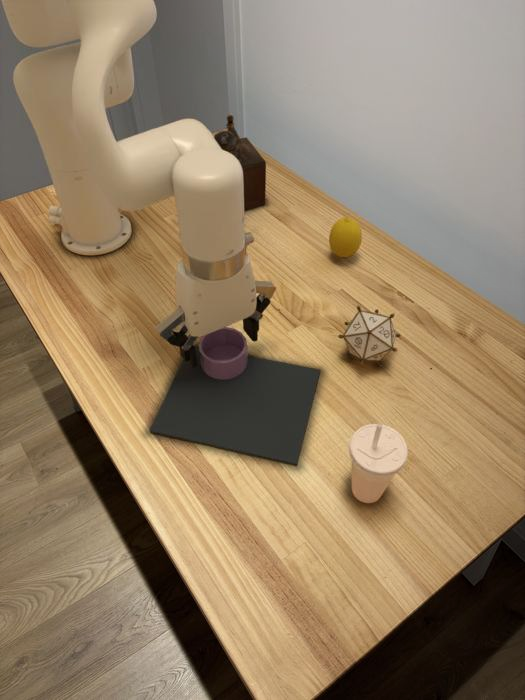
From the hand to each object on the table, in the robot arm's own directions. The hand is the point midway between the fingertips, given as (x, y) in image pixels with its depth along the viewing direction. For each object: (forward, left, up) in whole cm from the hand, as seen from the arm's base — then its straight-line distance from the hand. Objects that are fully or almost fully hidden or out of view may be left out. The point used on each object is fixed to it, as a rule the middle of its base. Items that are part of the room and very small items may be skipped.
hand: (221, 347), depth 79 cm
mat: (+4, -6, -3) cm, 8 cm away
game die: (+20, +7, -3) cm, 22 cm away
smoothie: (+23, -15, -3) cm, 28 cm away
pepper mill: (-10, +40, -3) cm, 41 cm away
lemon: (+13, +29, -3) cm, 32 cm away
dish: (0, 0, -3) cm, 3 cm away
